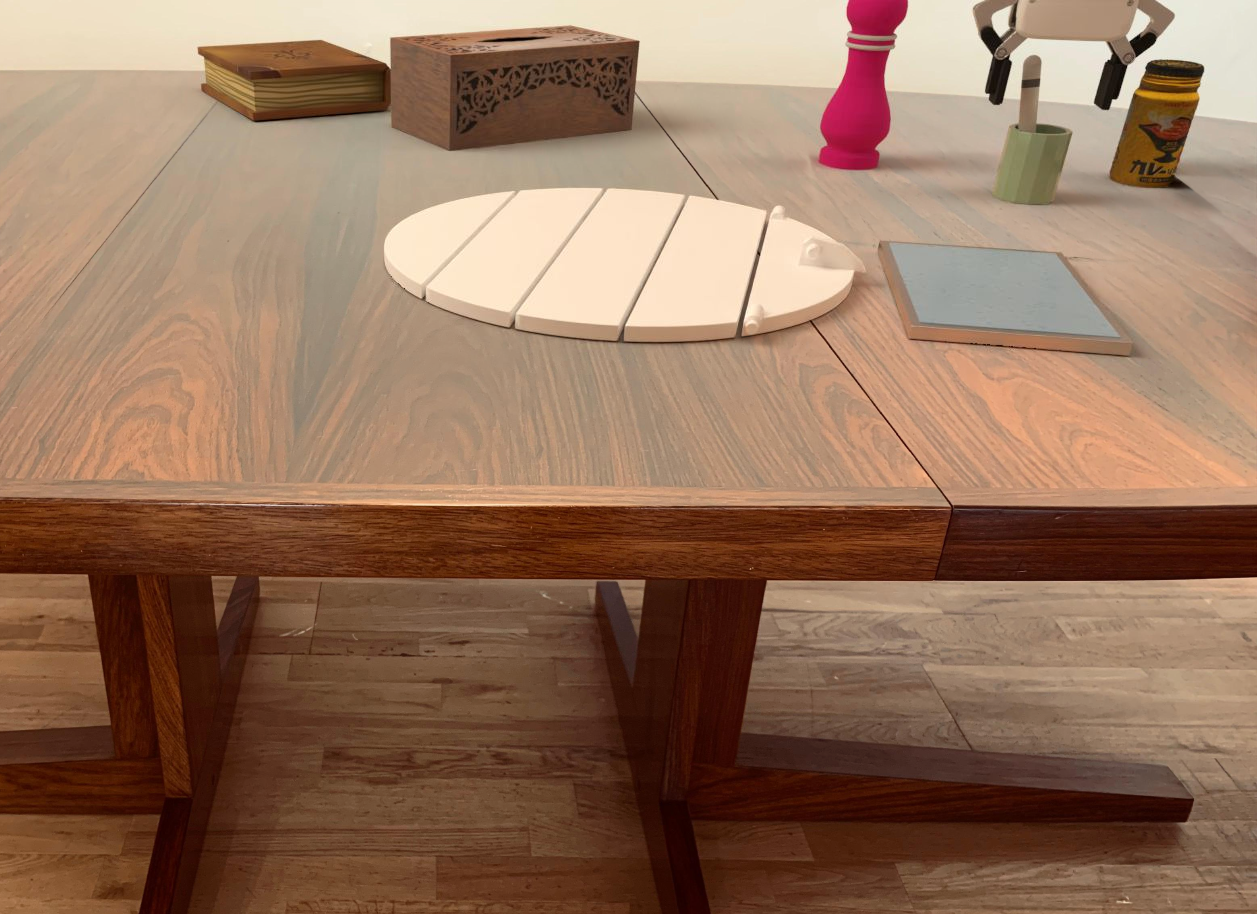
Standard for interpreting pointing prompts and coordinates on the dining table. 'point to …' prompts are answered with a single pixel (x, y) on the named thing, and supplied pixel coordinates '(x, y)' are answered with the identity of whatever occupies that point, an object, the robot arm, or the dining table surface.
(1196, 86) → the condiment
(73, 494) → the dining table surface
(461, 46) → the tissue box cover
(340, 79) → the diary
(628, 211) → the round wooden slat board
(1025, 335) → the tablet
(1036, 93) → the stylus
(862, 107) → the pepper mill
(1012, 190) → the pen pot
